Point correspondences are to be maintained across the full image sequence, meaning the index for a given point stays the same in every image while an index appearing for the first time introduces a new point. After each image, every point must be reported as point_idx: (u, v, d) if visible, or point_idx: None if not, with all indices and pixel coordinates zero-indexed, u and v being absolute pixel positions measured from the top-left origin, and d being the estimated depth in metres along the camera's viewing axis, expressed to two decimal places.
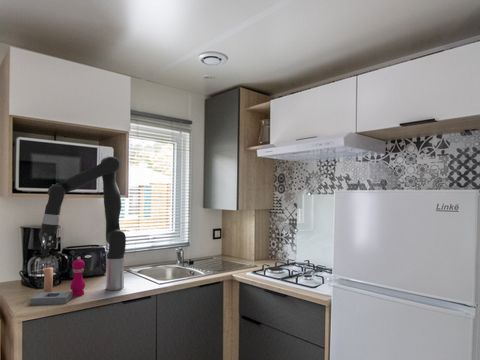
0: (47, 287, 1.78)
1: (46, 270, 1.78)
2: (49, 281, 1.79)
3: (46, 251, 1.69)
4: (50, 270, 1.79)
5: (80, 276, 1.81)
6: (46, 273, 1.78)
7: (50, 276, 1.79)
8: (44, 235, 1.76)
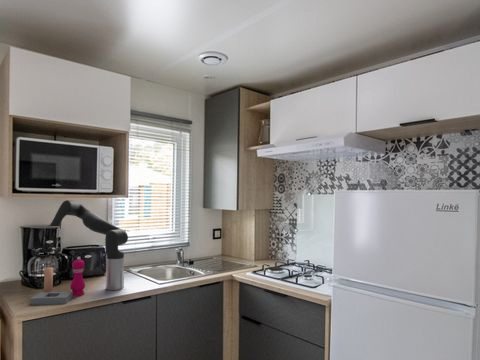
0: (47, 287, 1.78)
1: (46, 270, 1.78)
2: (49, 281, 1.79)
3: (35, 253, 1.89)
4: (50, 270, 1.79)
5: (80, 276, 1.81)
6: (46, 273, 1.78)
7: (50, 276, 1.79)
8: None
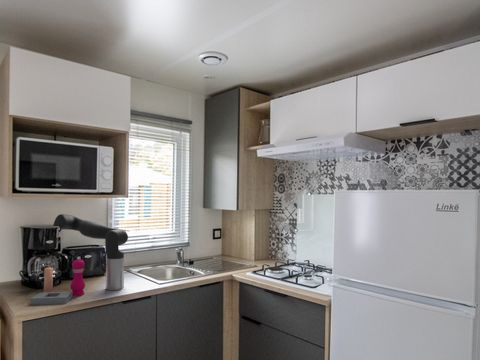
0: (47, 287, 1.78)
1: (46, 270, 1.78)
2: (49, 281, 1.79)
3: (35, 278, 1.84)
4: (50, 270, 1.79)
5: (80, 276, 1.81)
6: (46, 273, 1.78)
7: (50, 276, 1.79)
8: None
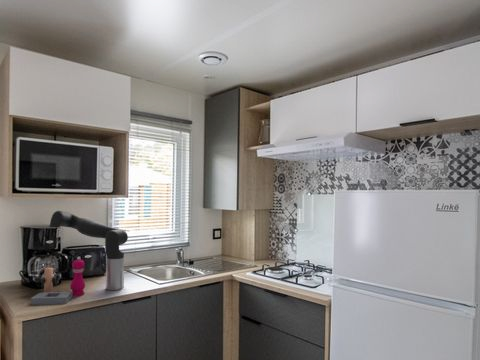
0: (48, 287, 1.78)
1: (46, 270, 1.78)
2: (50, 281, 1.79)
3: None
4: (50, 270, 1.79)
5: (80, 276, 1.81)
6: (46, 273, 1.78)
7: (50, 276, 1.79)
8: None
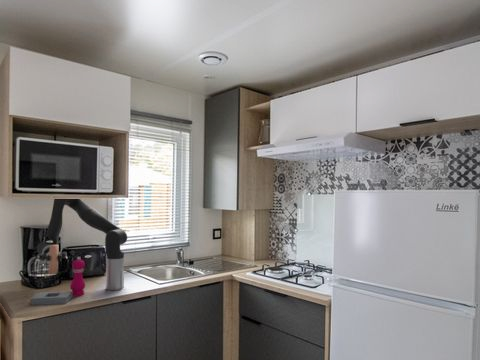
0: (53, 265, 1.69)
1: (51, 247, 1.69)
2: (55, 258, 1.70)
3: (46, 258, 1.69)
4: (55, 247, 1.70)
5: (80, 276, 1.81)
6: (51, 250, 1.69)
7: (55, 253, 1.70)
8: None
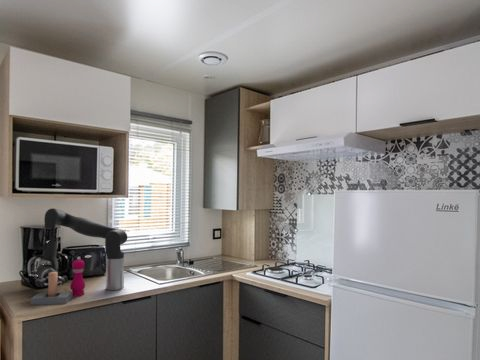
0: (52, 293, 1.68)
1: (50, 275, 1.69)
2: (54, 286, 1.69)
3: (40, 284, 1.68)
4: (54, 275, 1.69)
5: (80, 276, 1.81)
6: (50, 278, 1.69)
7: (54, 281, 1.69)
8: None
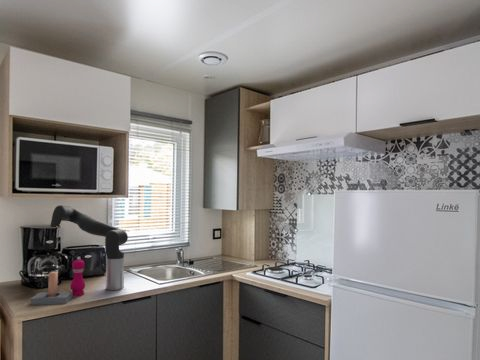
0: (52, 293, 1.68)
1: (50, 275, 1.69)
2: (54, 286, 1.69)
3: (39, 272, 1.79)
4: (55, 275, 1.69)
5: (80, 276, 1.81)
6: (50, 278, 1.69)
7: (55, 281, 1.69)
8: None
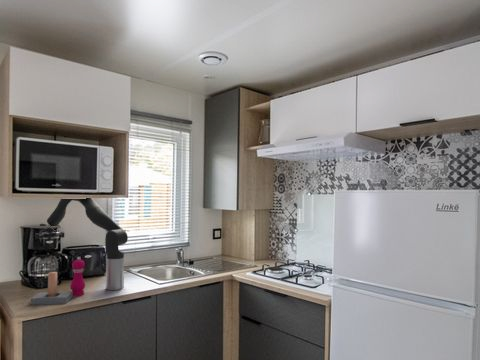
0: (52, 293, 1.68)
1: (50, 275, 1.69)
2: (54, 286, 1.69)
3: (39, 237, 1.85)
4: (54, 275, 1.69)
5: (80, 276, 1.81)
6: (50, 278, 1.68)
7: (54, 281, 1.69)
8: None
